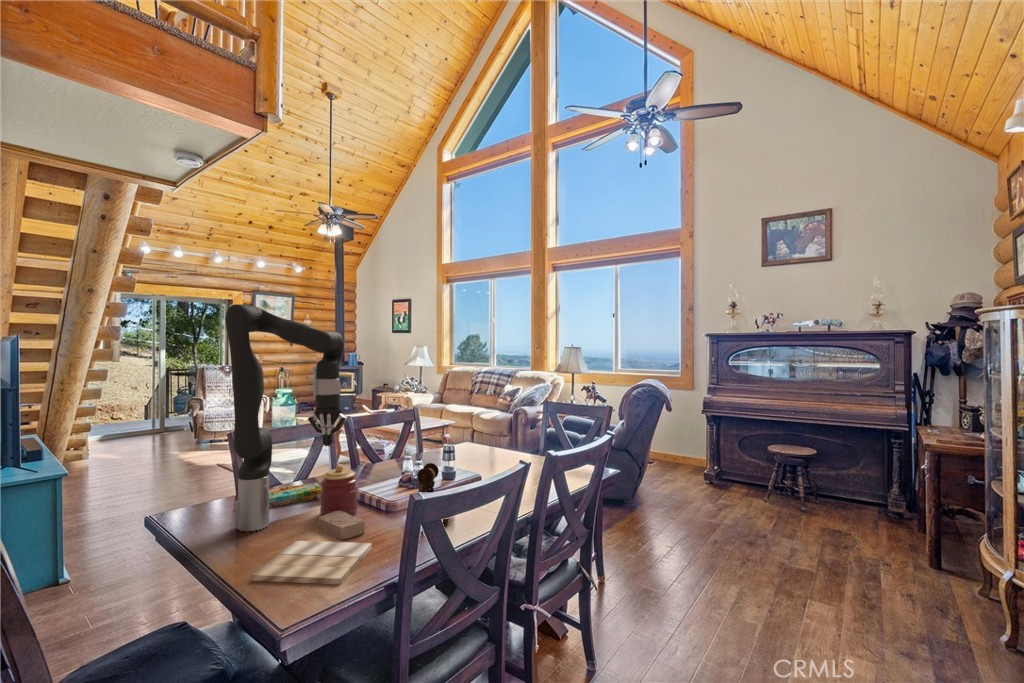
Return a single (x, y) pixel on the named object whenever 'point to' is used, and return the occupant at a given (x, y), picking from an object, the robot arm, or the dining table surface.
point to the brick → (341, 525)
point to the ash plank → (328, 549)
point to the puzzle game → (293, 494)
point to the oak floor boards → (307, 569)
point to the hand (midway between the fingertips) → (328, 445)
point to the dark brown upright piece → (428, 479)
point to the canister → (339, 491)
